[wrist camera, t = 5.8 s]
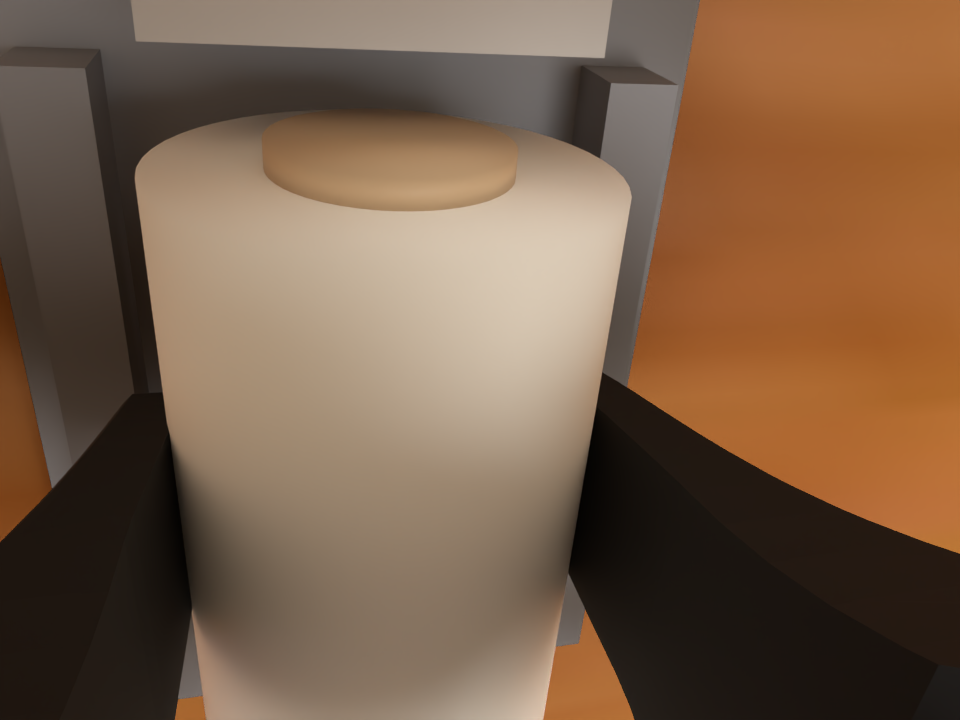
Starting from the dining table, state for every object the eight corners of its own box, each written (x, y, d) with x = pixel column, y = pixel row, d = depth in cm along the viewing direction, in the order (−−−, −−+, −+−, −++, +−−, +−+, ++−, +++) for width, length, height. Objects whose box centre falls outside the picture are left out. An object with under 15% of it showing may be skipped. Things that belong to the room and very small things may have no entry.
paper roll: (495, 566, 16) (588, 825, 11) (213, 599, 14) (200, 902, 10) (549, 90, 11) (728, 223, 7) (155, 79, 10) (91, 232, 6)
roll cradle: (561, 604, 20) (625, 753, 17) (110, 661, 18) (77, 849, 14) (698, -202, 12) (870, -226, 9) (-89, -294, 10) (-266, -374, 6)
